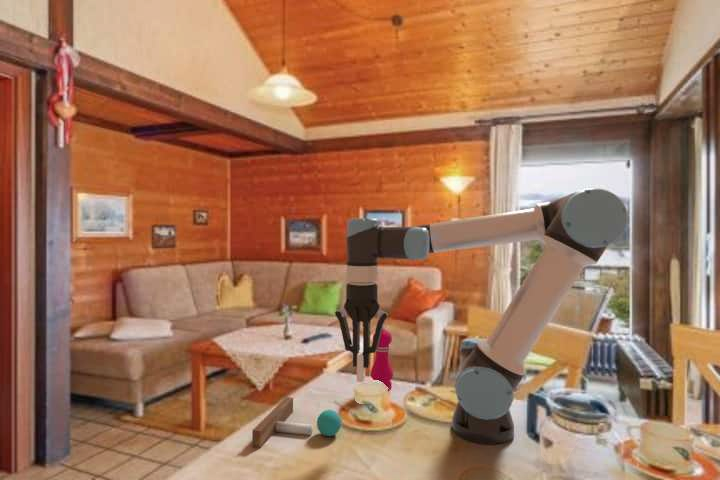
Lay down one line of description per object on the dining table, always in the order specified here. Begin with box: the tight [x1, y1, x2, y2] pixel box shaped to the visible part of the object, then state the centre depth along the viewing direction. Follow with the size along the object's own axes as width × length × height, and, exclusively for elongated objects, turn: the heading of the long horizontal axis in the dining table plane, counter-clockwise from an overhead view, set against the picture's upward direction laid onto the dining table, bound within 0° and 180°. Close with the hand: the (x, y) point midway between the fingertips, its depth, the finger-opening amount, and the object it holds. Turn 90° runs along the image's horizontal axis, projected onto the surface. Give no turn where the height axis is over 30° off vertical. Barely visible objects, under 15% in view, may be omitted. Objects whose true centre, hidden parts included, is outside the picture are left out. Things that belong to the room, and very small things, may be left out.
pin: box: [275, 421, 314, 436], centre depth 109 cm, size 2×2×9 cm
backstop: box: [251, 396, 294, 449], centre depth 111 cm, size 2×20×4 cm, turn 167°
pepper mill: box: [370, 324, 394, 391], centre depth 139 cm, size 7×7×20 cm
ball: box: [316, 409, 342, 437], centre depth 107 cm, size 6×6×6 cm
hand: (361, 380), depth 105 cm, fingers closed
